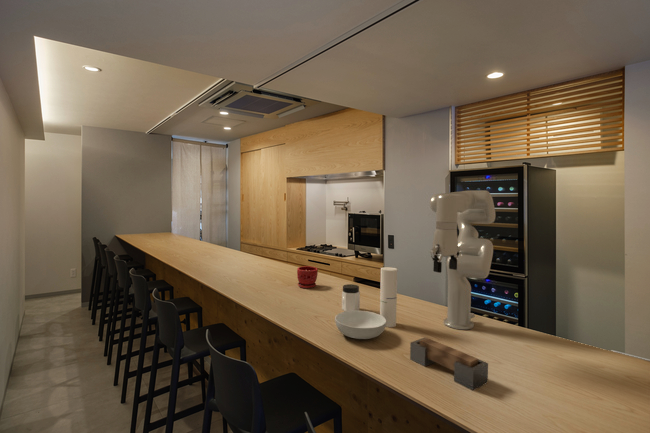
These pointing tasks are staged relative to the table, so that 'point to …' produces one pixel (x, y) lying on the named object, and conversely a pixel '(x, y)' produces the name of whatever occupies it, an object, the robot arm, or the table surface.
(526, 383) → the table surface
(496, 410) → the table surface
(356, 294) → the jar
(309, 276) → the plant pot
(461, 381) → the bracket
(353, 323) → the serving bowl
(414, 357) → the bracket
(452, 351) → the walnut rail
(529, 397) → the table surface
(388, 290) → the cylindrical container
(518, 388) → the table surface
